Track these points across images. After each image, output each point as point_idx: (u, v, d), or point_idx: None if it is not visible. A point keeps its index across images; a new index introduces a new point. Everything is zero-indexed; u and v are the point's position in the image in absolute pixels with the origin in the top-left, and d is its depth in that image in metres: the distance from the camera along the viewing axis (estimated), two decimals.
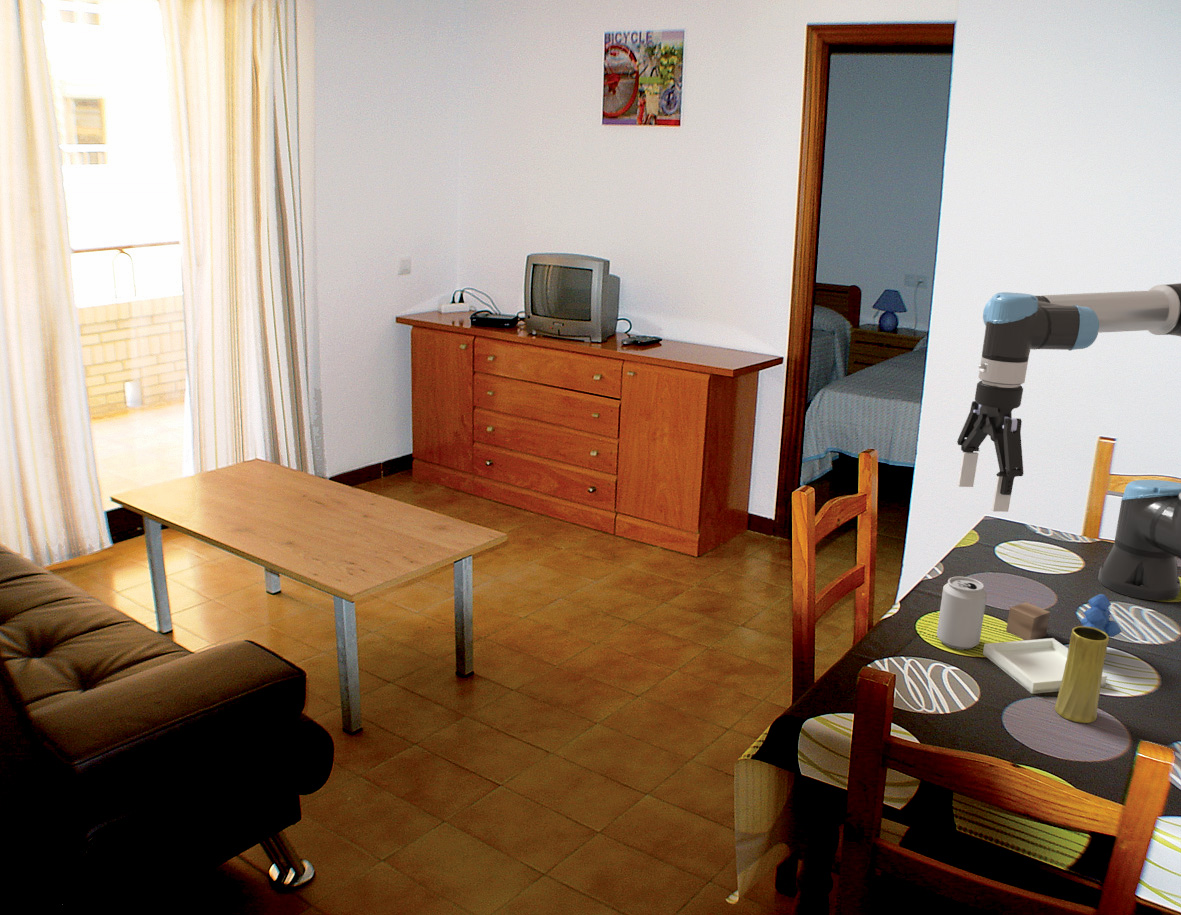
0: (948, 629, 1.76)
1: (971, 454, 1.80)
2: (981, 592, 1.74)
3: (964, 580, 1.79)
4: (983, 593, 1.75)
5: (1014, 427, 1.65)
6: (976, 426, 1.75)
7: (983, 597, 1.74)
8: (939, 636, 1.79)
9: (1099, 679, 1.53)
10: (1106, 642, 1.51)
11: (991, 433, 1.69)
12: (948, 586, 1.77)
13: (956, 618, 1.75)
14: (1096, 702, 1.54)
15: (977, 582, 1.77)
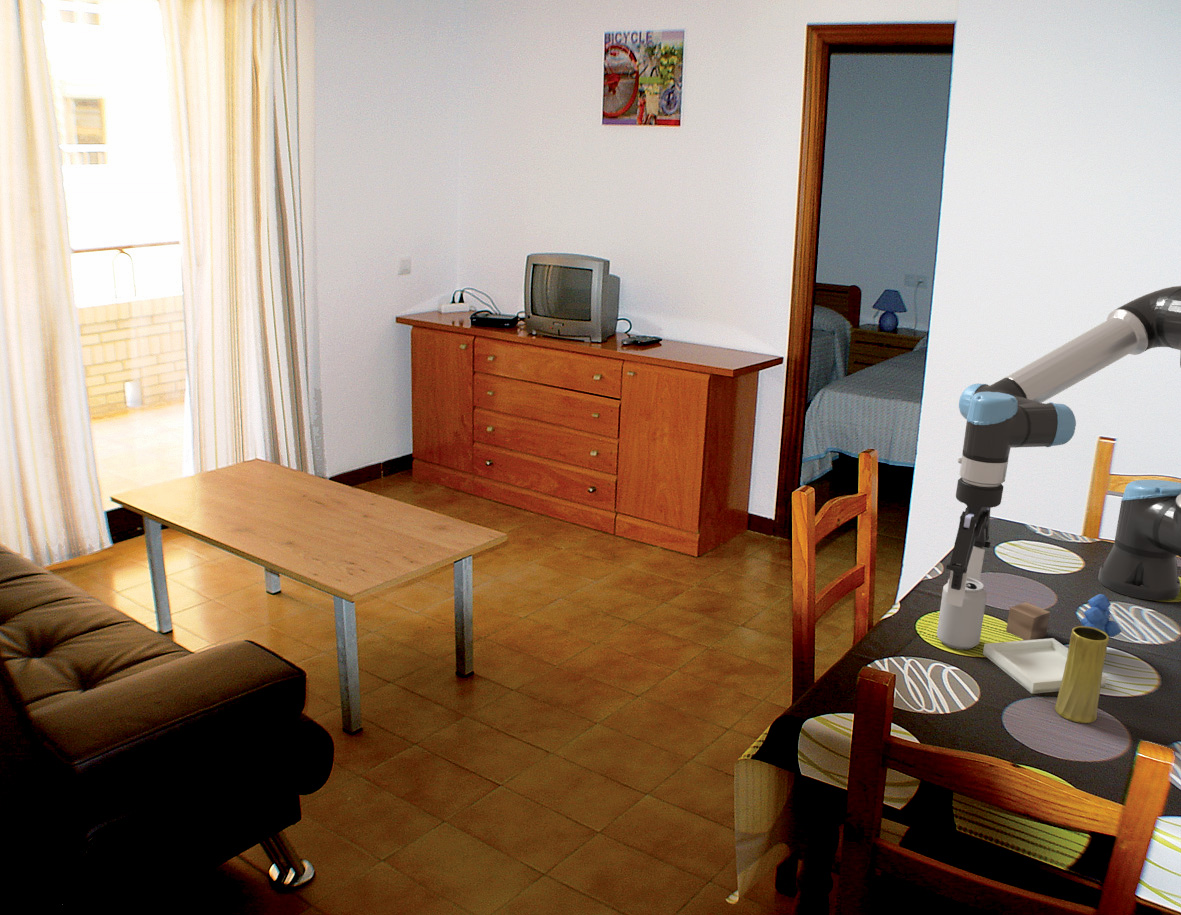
0: (948, 629, 1.76)
1: (976, 549, 1.80)
2: (981, 592, 1.74)
3: None
4: (983, 593, 1.75)
5: (967, 524, 1.67)
6: None
7: (983, 597, 1.74)
8: (939, 636, 1.79)
9: (1099, 679, 1.53)
10: (1106, 642, 1.51)
11: None
12: None
13: (956, 618, 1.75)
14: (1096, 702, 1.54)
15: (977, 582, 1.77)
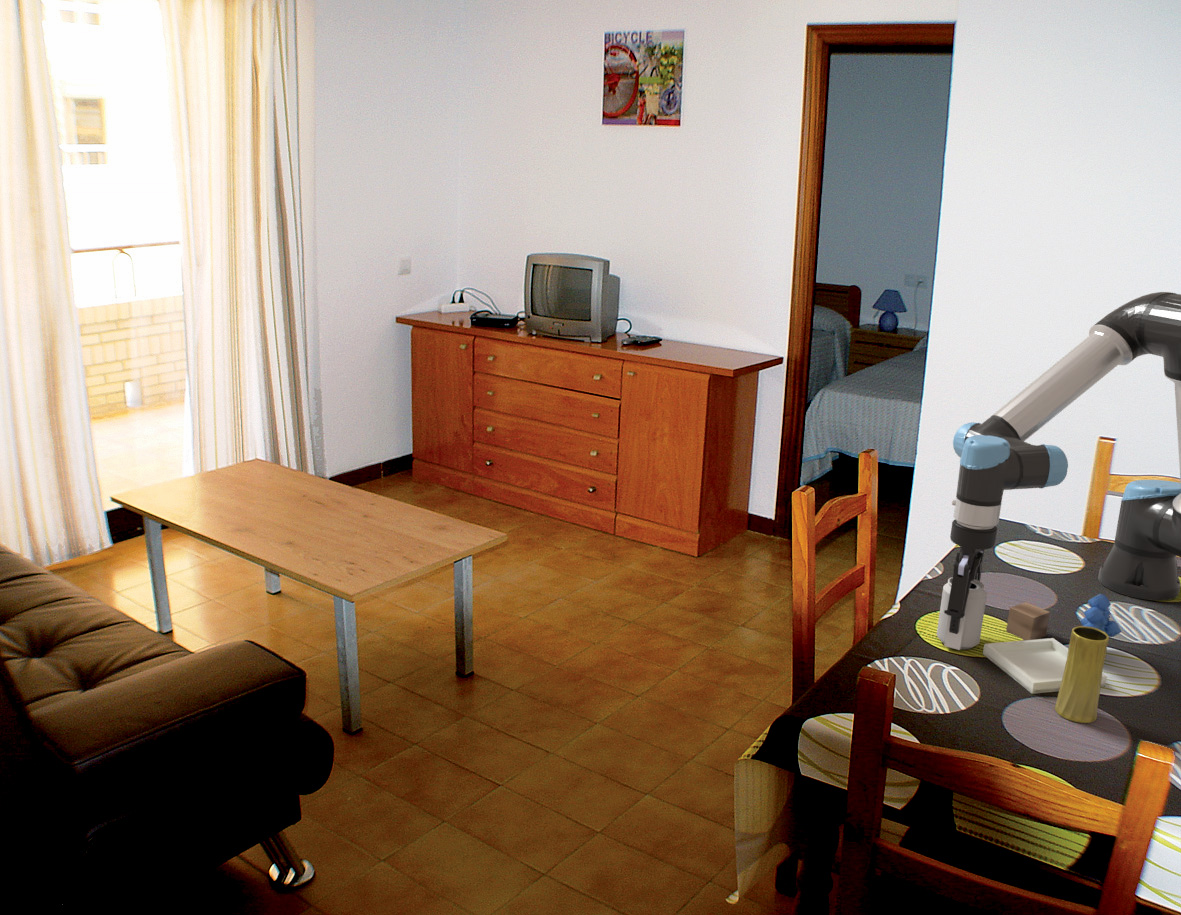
0: None
1: None
2: (981, 592, 1.74)
3: None
4: (983, 593, 1.75)
5: (961, 572, 1.70)
6: None
7: (983, 597, 1.74)
8: (939, 636, 1.79)
9: (1099, 679, 1.53)
10: (1106, 642, 1.51)
11: None
12: (948, 586, 1.77)
13: None
14: (1096, 702, 1.54)
15: (977, 582, 1.77)
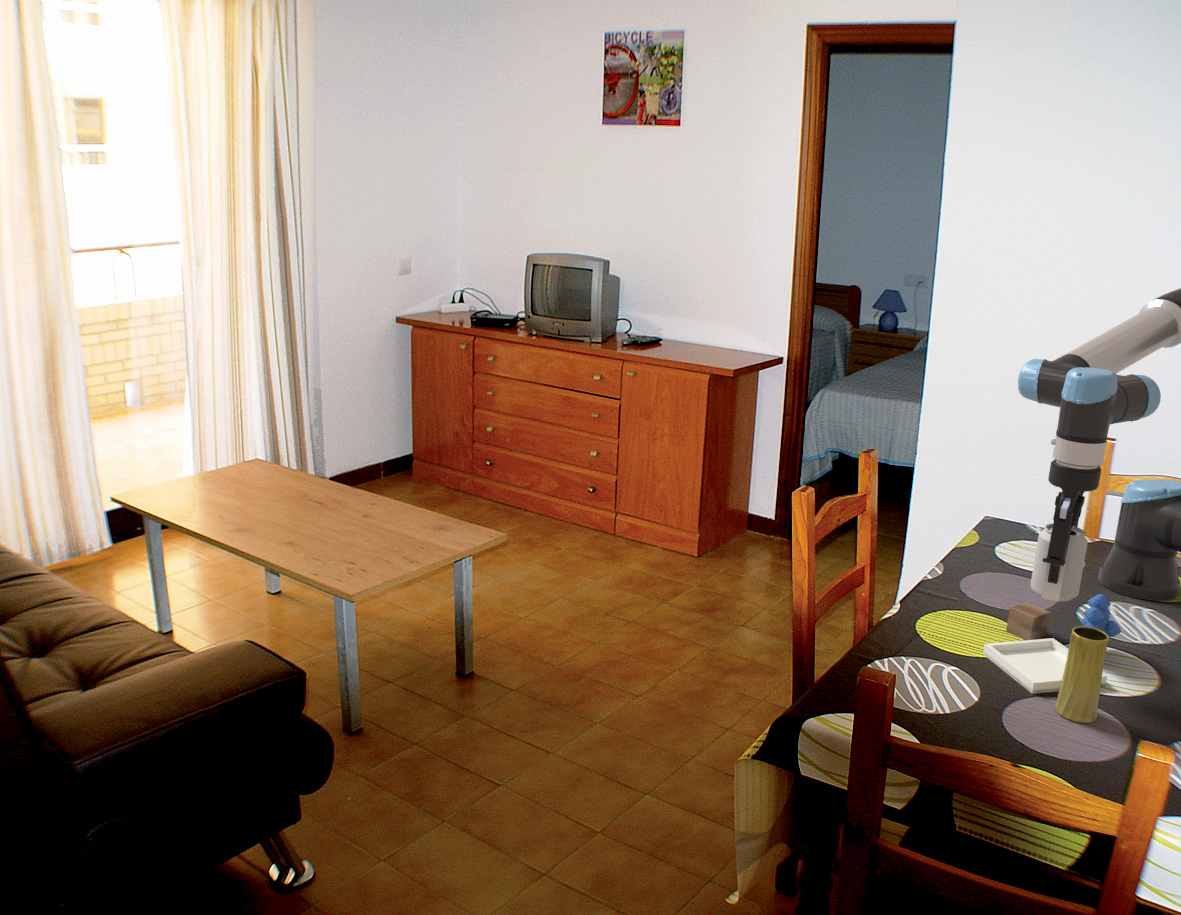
0: None
1: None
2: (1082, 538, 1.61)
3: None
4: (1084, 540, 1.61)
5: (1063, 516, 1.56)
6: None
7: (1084, 544, 1.61)
8: (1034, 587, 1.66)
9: (1099, 679, 1.53)
10: (1106, 642, 1.51)
11: (1054, 514, 1.61)
12: (1045, 533, 1.63)
13: None
14: (1096, 702, 1.54)
15: (1076, 529, 1.64)
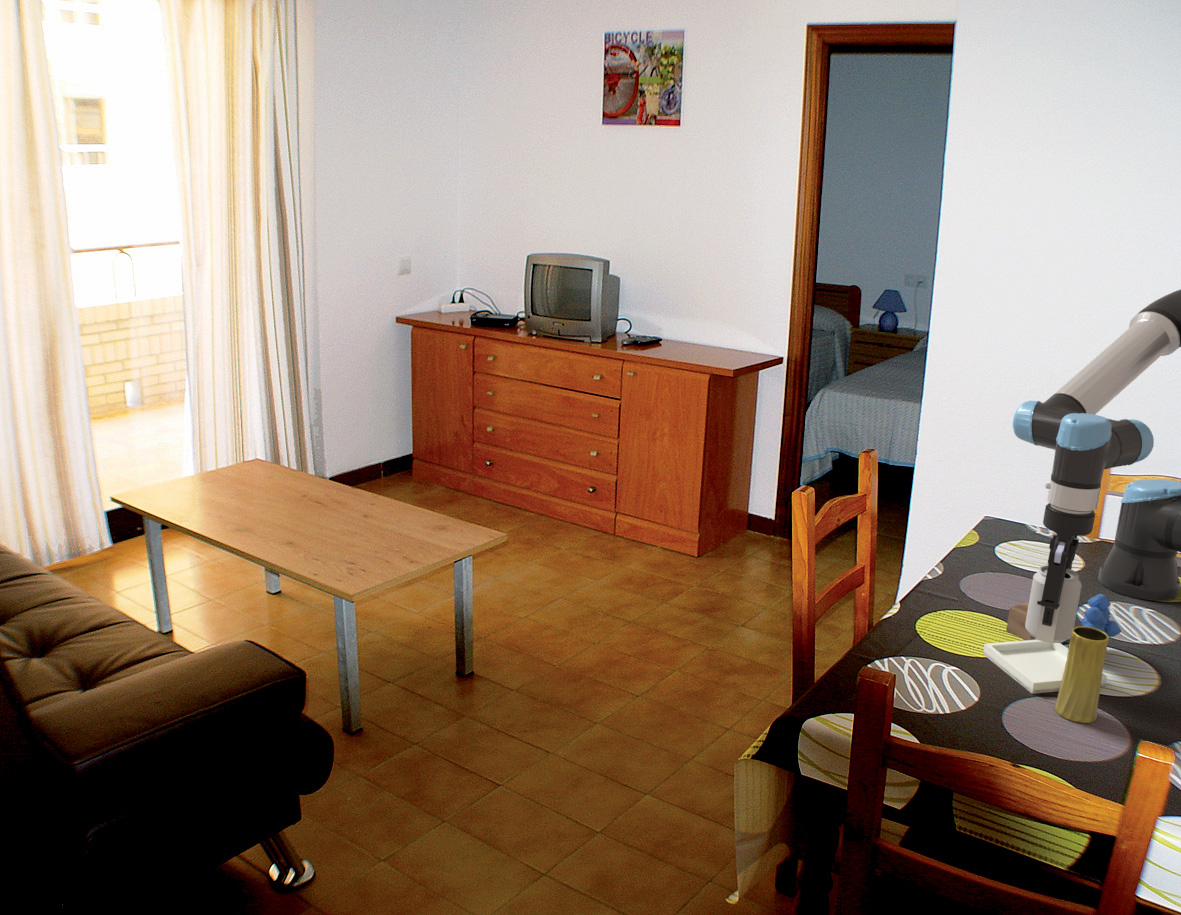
0: None
1: None
2: (1076, 581, 1.63)
3: None
4: (1078, 582, 1.63)
5: (1057, 560, 1.58)
6: None
7: (1078, 587, 1.63)
8: (1029, 629, 1.67)
9: (1099, 679, 1.53)
10: (1106, 642, 1.51)
11: None
12: (1039, 575, 1.65)
13: None
14: (1096, 702, 1.54)
15: (1070, 571, 1.66)
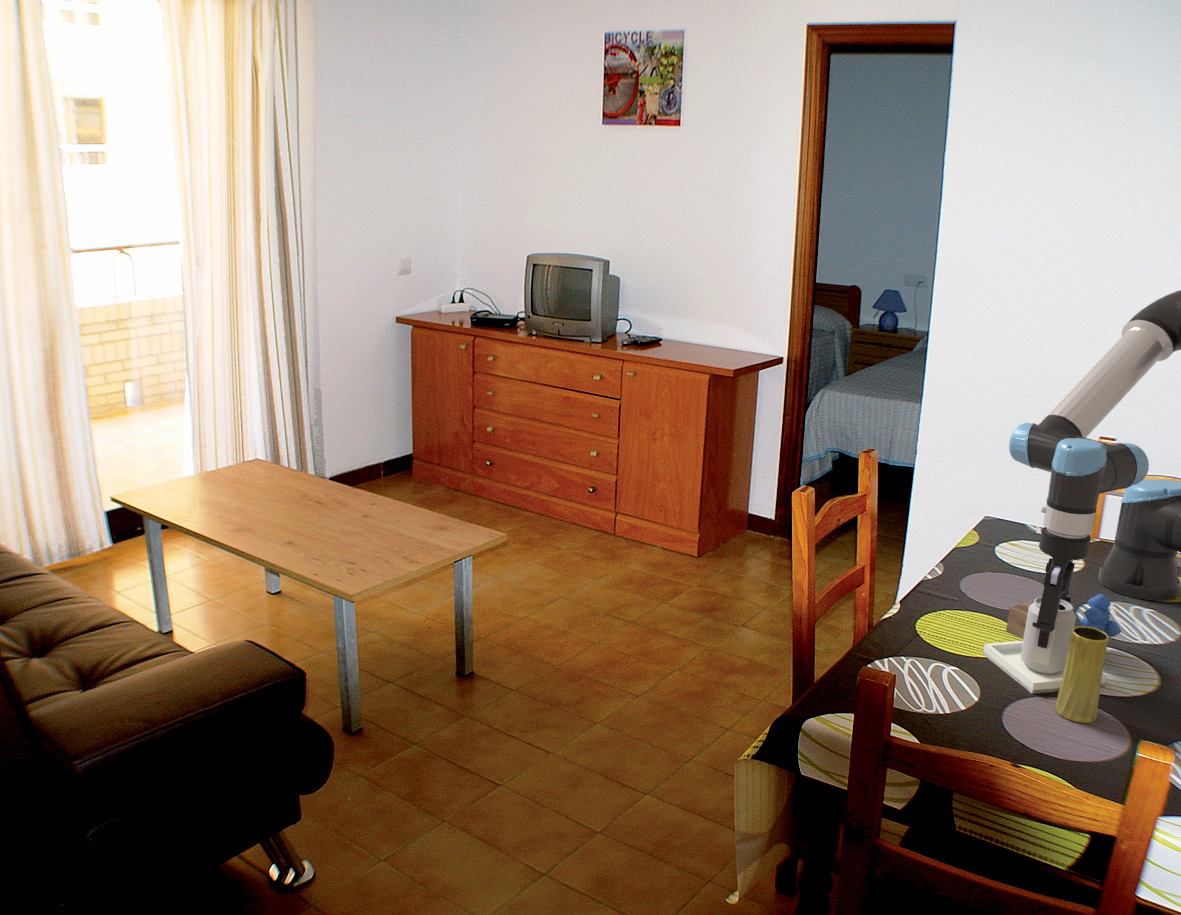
0: None
1: None
2: (1071, 613, 1.65)
3: None
4: (1073, 614, 1.65)
5: (1054, 581, 1.59)
6: None
7: (1073, 619, 1.65)
8: (1024, 660, 1.69)
9: (1099, 679, 1.53)
10: (1106, 642, 1.51)
11: None
12: (1035, 607, 1.67)
13: None
14: (1096, 702, 1.54)
15: (1065, 603, 1.68)
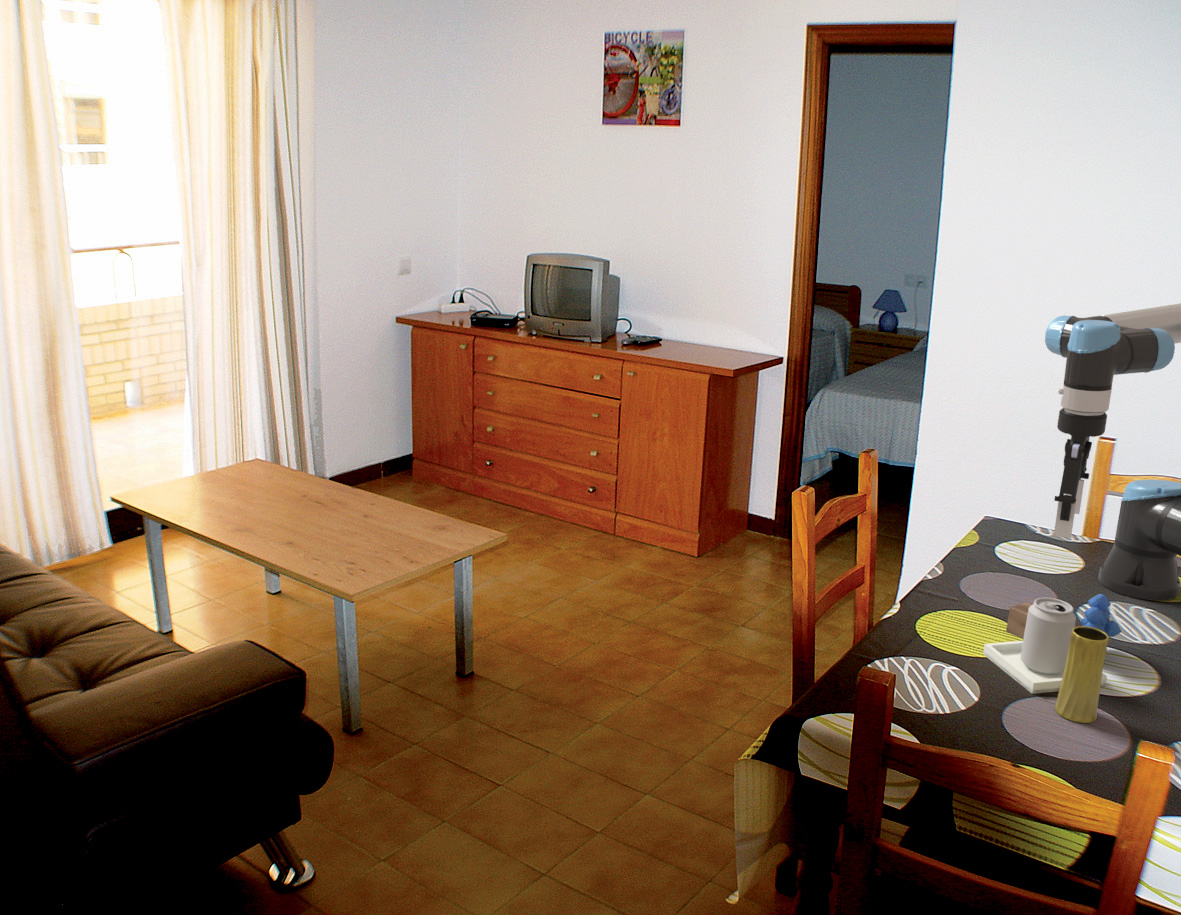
0: (1035, 654, 1.67)
1: None
2: (1071, 615, 1.65)
3: (1050, 601, 1.69)
4: (1073, 616, 1.65)
5: (1074, 454, 1.66)
6: None
7: (1073, 620, 1.64)
8: (1024, 661, 1.69)
9: (1099, 679, 1.53)
10: (1106, 642, 1.51)
11: (1064, 459, 1.71)
12: (1035, 608, 1.67)
13: (1044, 642, 1.65)
14: (1096, 702, 1.54)
15: (1065, 604, 1.68)
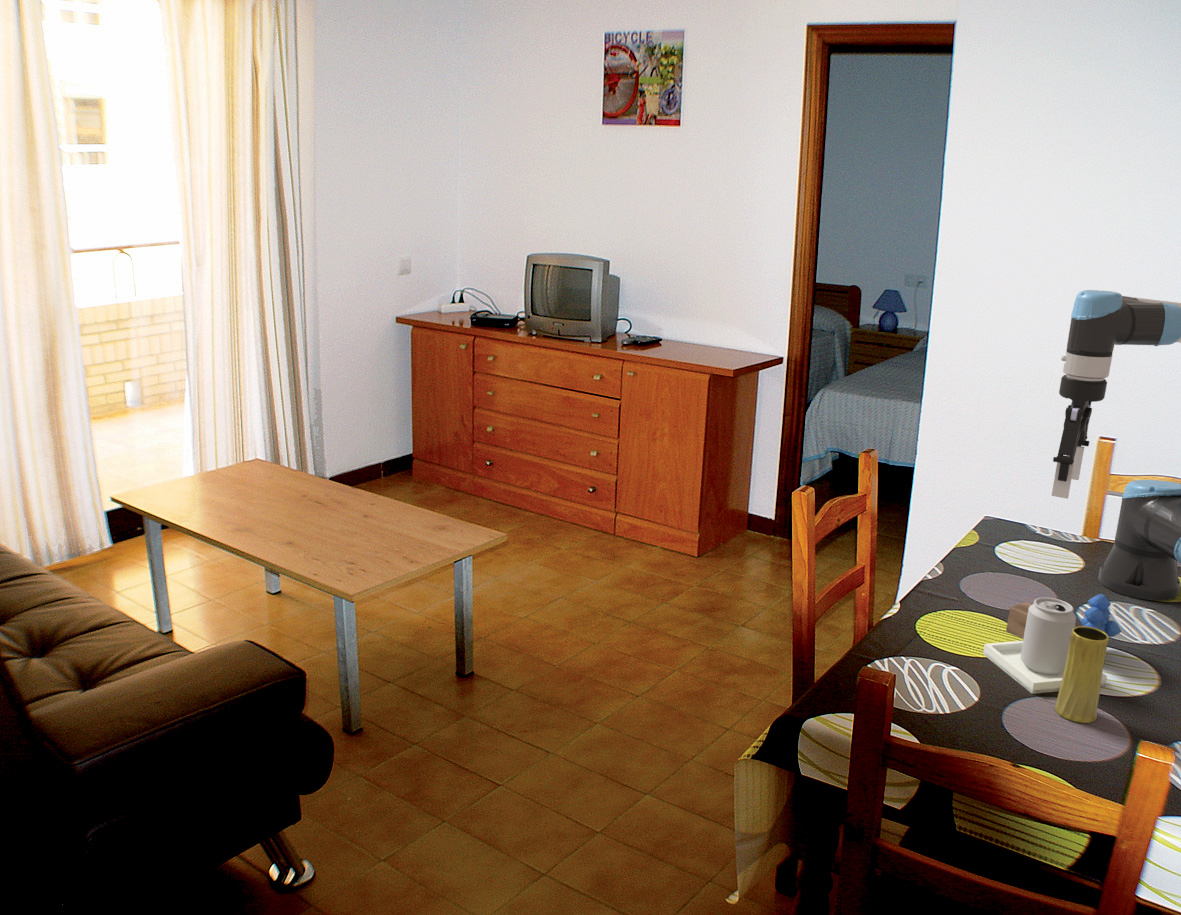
0: (1035, 653, 1.67)
1: (1076, 447, 1.87)
2: (1071, 614, 1.65)
3: (1050, 601, 1.69)
4: (1073, 615, 1.65)
5: (1074, 417, 1.73)
6: None
7: (1073, 620, 1.64)
8: (1024, 660, 1.69)
9: (1099, 679, 1.53)
10: (1106, 642, 1.51)
11: (1064, 422, 1.78)
12: (1035, 608, 1.67)
13: (1044, 642, 1.65)
14: (1096, 702, 1.54)
15: (1065, 603, 1.68)
